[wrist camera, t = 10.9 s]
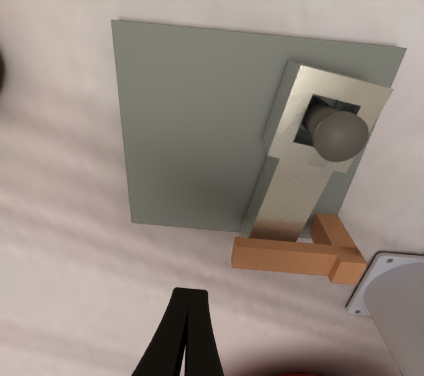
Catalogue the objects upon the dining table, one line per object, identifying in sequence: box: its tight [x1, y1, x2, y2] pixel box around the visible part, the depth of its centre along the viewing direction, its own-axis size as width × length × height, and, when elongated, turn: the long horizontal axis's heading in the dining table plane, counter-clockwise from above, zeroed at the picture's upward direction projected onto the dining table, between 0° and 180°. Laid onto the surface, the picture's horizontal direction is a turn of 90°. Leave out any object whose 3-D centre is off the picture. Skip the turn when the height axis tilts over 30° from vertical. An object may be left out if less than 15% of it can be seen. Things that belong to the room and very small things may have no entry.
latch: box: [239, 60, 393, 242], centre depth 16 cm, size 12×4×2 cm, turn 167°
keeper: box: [231, 213, 367, 285], centre depth 17 cm, size 8×2×5 cm, turn 85°
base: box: [111, 20, 407, 238], centre depth 15 cm, size 15×13×6 cm
